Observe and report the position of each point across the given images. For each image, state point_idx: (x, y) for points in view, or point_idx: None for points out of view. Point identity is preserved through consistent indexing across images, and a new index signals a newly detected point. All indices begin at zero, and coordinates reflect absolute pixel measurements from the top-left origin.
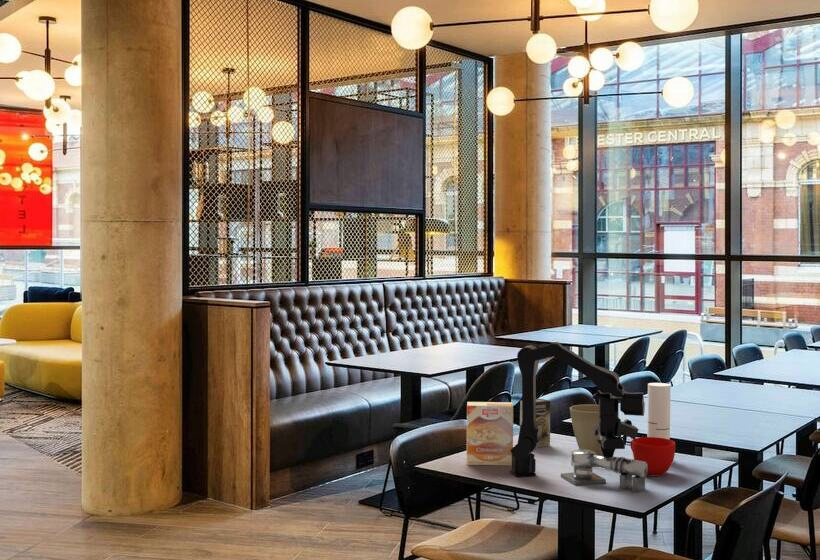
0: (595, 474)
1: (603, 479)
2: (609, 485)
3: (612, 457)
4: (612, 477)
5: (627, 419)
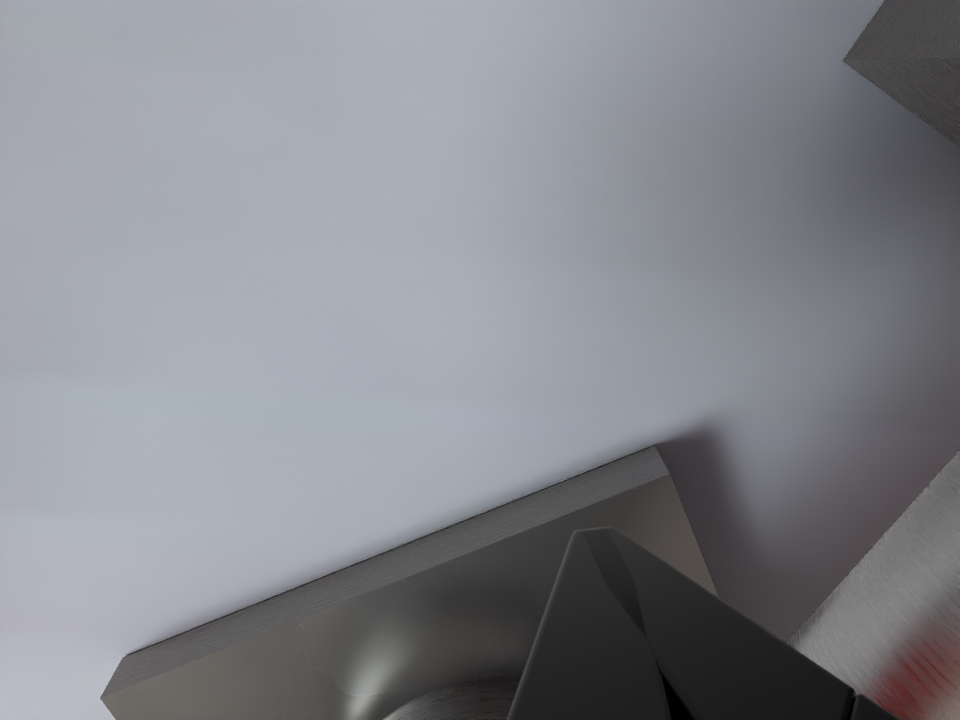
0: (320, 629)
1: (665, 514)
2: (812, 394)
3: (785, 650)
4: (228, 303)
5: None
